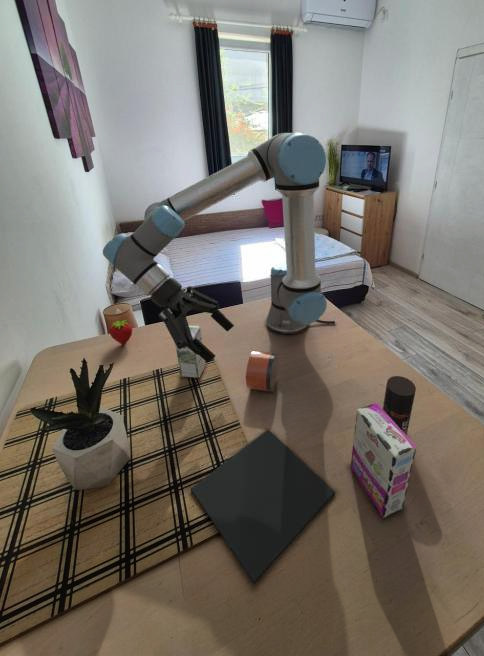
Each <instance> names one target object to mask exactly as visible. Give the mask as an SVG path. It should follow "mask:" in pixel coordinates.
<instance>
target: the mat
mask: <svg viewBox="0 0 484 656" xmlns="http://www.w3.org/2000/svg"><path fill="white" fill-rule="evenodd" d="M190 491H191V492H192V494H193V495H194V497H195V498H196V500H197V501H198V503H199V504H200V506H201V508H203V510H204V512H205V513H206V515H207V516H208V518H209V519H210V521H211V522H212V524H213V525H214V527H215V528H216V529H217V531H218V532H219V534H220V536H221V537H222V538H223V540H224V541H225V543H226V545H227V546H228V547H229V549H230V551H231V552H232V554H233V555H234V556H235V558H236V560H237V561H238V563H239V564H240V565H241V567H242V568H243V570H244V571H245V573H246V574H247V576H248V577H249V579H250V580H251V582H252V583H253V584H254V585H255V584H256V583H257V582H258V580H259V579H260V578H261V577H262V576H263V575H264V574H265V573H266V571H267V570H268V569H269V568H270V567H271V566H272V565H273V564H274V562H275V561H276V560H277V559H278V558H279V557H280V556H281V555H282V553H283V552H284V551H285V550H286V549H287V548H288V547H289V545H291V544H292V542H293V541H294V540H295V539H296V538H297V536H298V535H299V534H301V532H302V531H303V530H304V529H305V528H306V527H307V526H308V524H309V523H310V522H311V521H312V520H313V519H314V518H315V516H316V515H317V514H318V513H319V512H320V511H321V510H322V509H323V507H325V505H326V504H327V503H328V502H329V500H330V499H332V497H333V496H334V495H335V494H336V493H335V490H334V489H333V488H332V487H330V486H329V485H328V483H326V482H325V481H324V480H323V479H322V478H321V477H320V476H318V474H317V473H315V471H313V469H311V468H310V467H309V466H308V465H307V464H306V463H305V462H304V461H303V460H301V458H299V457H298V455H297V454H295V453H294V452H293V450H291V449H290V448H289V447H288V446H286V444H285V443H283V442H282V441H281V440H280V439H279V438H278V437H277V436H276V435H275V434H274V433H273V432H272V431H271V430H270V429H266V430H265V431H264V432H263V433H261V434H260V435H259V436H257V437H256V438H254V439H253V440H252V441H251V442H250V443H248V444H247V445H246V446H244V447H243V448H242V449H240V450H239V451H238V452H237V453H235V454H234V455H233V456H231V457H229V458H228V459H227V460H226V461H225V462H223V463H222V464H221V465H219V466H218V467H217V468H215V469H214V470H213V471H212V472H211V473H209V474H208V475H207V476H205V477H204V478H203V479H201V480H200V481H198V482H197V483H196V484H194V485H193V486H192V487H191V488H190Z"/></svg>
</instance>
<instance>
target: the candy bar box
mask: <svg viewBox="0 0 484 656" xmlns="http://www.w3.org/2000/svg"><path fill="white" fill-rule="evenodd" d="M416 451H417V446H416V444H415V443H414V442H413V441H412V440H411V439H410V437H408V435H407V436H406V435H405V434H404V432H403V431H402V430H401V429H400V428H399V427H398V426H397V425H396V424H395V422H394V421H393V420H392V419H391V418H390V417H389V416H388V415H387V414H386V412H385V411H384V410H383V407H381V406H380V404H378V402H374V403H371V404H368V405H367V406H363V407H360V408H357V409H356V417H355V424H354V435H353V441H352V450H351V458H350V469H351V470H352V472H353V474H354V475H355V476H356V478H357V479H358V481H359V483H360V484H361V486H362V488H363V489H364V491H365V493H366V494H367V495H368V497H369V499H370V500H371V502H372V503H373V505H374V506H375V508H376V510H377V511H378V513H379V514H380V516H381V518H382V519H385V518H387V517H389V516H390V515H392V514H395V513H397V512H399V511H400V510H403V509H404V505H405V501H406V496H407V492H408V487H409V482H410V478H411V474H412V469H413V465H414V461H415V456H416Z"/></svg>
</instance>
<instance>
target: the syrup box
mask: <svg viewBox="0 0 484 656" xmlns="http://www.w3.org/2000/svg"><path fill="white" fill-rule="evenodd" d="M189 328H190V331H191V335H192V338H193V340H194V339H195V338H197V339H198V340H199V341H200V342H201V343H202V344H203V336H202V329H201V326H200V325H189ZM180 342H181V341H180ZM174 345H175V351H176V358H177V362H178V368H179V374H180V377H181V378H193V379H199V378H200V377H201V376H202V373H203V372H204V370H205V367H206V361H205V360H204V359H203V358H202V357H201V356H199V355H197V354H195V353H194V352H193V351H192V350H190V349H189V348H188V347H185V348H182V349H178V348H177V346H176V344H175V343H174Z"/></svg>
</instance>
